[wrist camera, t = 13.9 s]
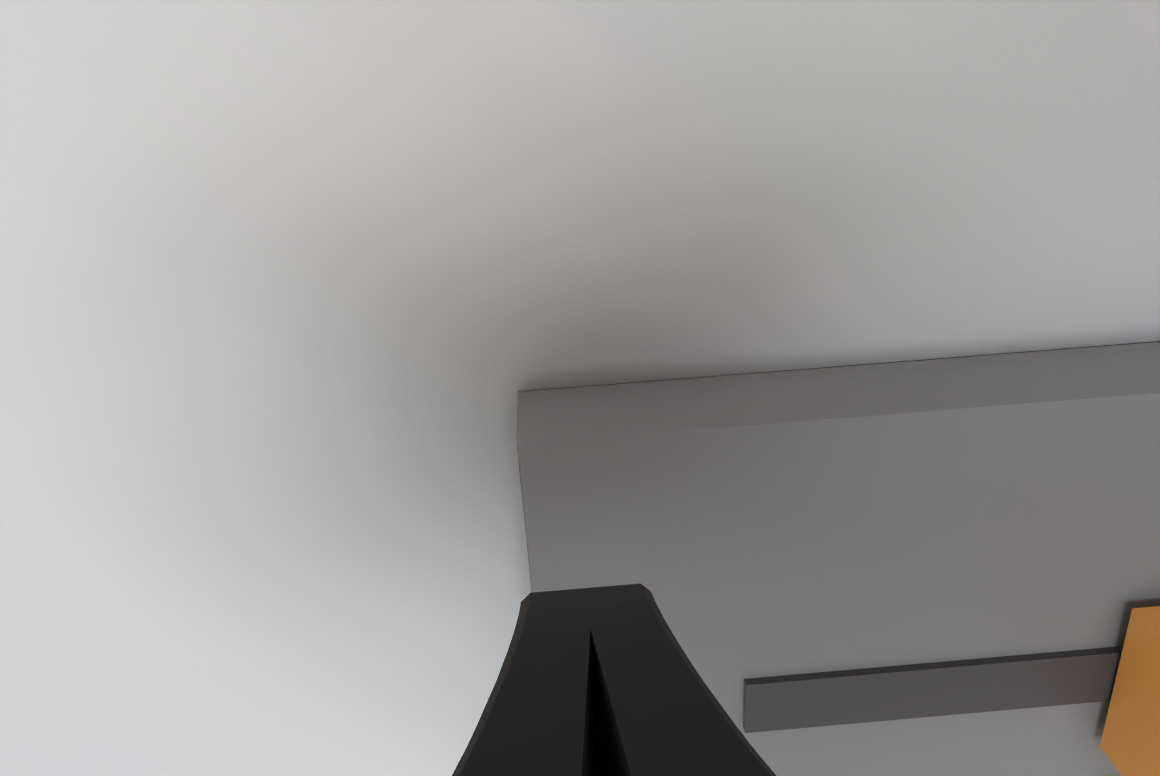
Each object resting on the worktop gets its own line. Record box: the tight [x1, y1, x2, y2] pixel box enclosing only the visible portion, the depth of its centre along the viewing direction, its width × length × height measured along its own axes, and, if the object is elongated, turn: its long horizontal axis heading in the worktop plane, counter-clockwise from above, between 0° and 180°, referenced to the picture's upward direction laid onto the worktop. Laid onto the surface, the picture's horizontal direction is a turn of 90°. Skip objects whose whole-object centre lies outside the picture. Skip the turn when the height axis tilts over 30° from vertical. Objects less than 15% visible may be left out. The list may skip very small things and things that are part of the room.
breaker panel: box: [517, 342, 1160, 776], centre depth 21 cm, size 18×14×3 cm
